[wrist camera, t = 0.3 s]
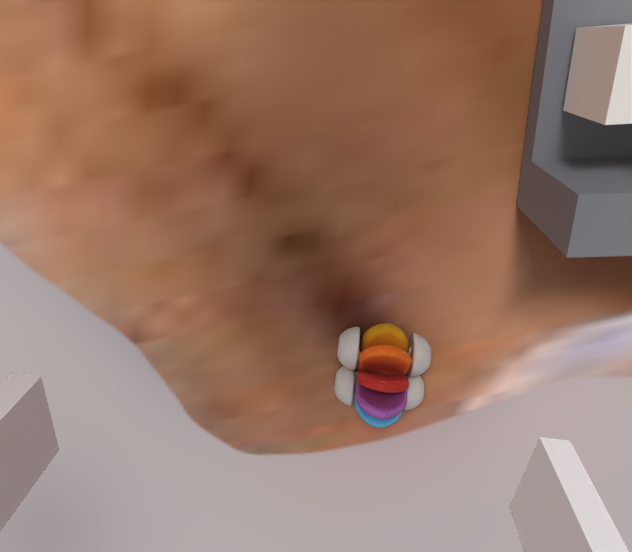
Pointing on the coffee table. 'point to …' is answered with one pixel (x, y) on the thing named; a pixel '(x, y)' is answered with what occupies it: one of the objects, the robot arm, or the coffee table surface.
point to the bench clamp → (575, 145)
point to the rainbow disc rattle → (381, 372)
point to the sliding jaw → (601, 74)
